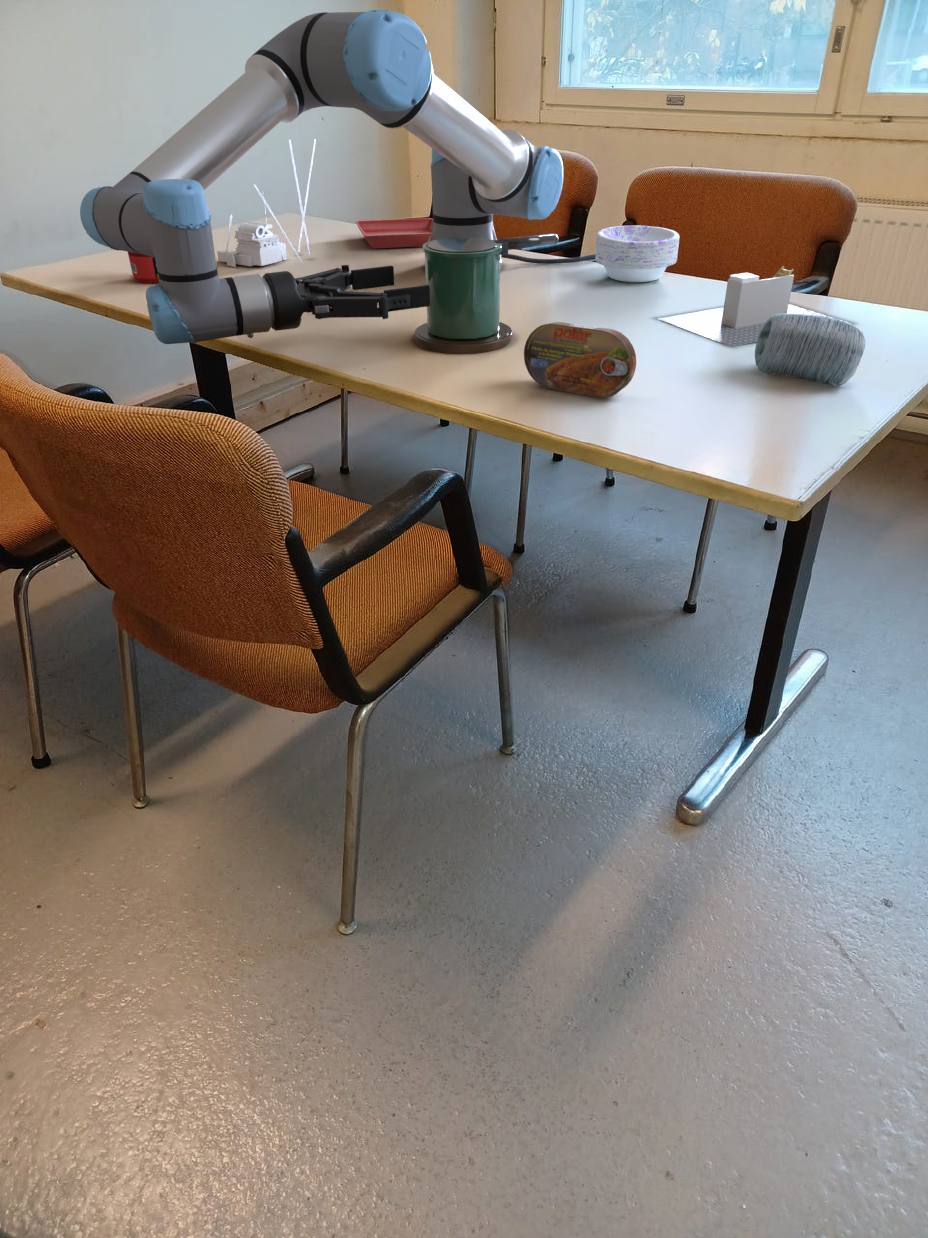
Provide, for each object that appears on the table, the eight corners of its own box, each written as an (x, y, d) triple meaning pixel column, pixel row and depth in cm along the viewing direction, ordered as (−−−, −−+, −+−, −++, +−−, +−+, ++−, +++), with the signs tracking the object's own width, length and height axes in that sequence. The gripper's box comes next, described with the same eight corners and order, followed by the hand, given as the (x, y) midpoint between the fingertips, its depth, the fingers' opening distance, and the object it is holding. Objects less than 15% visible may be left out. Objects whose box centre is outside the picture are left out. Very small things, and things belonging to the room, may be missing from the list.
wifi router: (265, 242, 198) (251, 130, 186) (339, 254, 187) (329, 135, 175) (176, 263, 182) (154, 141, 169) (251, 277, 171) (233, 147, 158)
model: (721, 323, 141) (728, 272, 137) (771, 314, 145) (780, 264, 141) (735, 328, 139) (743, 276, 134) (785, 318, 143) (795, 268, 138)
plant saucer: (432, 231, 207) (432, 216, 205) (447, 247, 192) (447, 230, 190) (355, 236, 204) (354, 220, 202) (365, 251, 189) (364, 235, 187)
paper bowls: (639, 291, 159) (644, 243, 154) (577, 276, 168) (579, 232, 164) (691, 277, 167) (697, 232, 163) (629, 264, 177) (632, 221, 172)
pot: (443, 343, 128) (441, 254, 121) (414, 324, 137) (410, 239, 130) (572, 325, 136) (577, 239, 129) (537, 307, 144) (539, 226, 137)
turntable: (482, 320, 144) (482, 312, 143) (530, 343, 133) (531, 335, 132) (398, 333, 138) (398, 325, 137) (442, 359, 127) (441, 350, 126)
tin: (521, 383, 118) (523, 319, 113) (533, 377, 120) (535, 313, 116) (626, 404, 111) (632, 336, 107) (635, 396, 114) (642, 330, 109)
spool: (733, 353, 117) (777, 282, 114) (752, 368, 125) (794, 302, 122) (822, 401, 111) (871, 327, 108) (837, 413, 119) (883, 346, 116)
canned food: (164, 284, 167) (152, 221, 161) (125, 282, 168) (112, 220, 162) (183, 275, 173) (172, 214, 167) (145, 273, 174) (133, 213, 168)
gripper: (248, 309, 132) (381, 292, 140) (296, 355, 113) (446, 332, 121) (241, 256, 128) (378, 242, 135) (288, 294, 109) (444, 275, 117)
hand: (410, 284), depth 128 cm, fingers open, 13 cm apart
